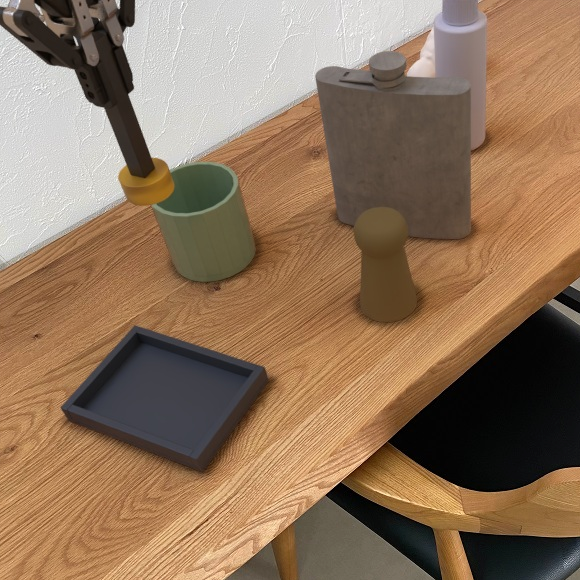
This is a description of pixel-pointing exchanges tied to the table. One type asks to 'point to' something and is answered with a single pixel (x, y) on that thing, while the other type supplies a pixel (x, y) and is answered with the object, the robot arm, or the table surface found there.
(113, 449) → the table surface
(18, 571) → the table surface
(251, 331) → the table surface
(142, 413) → the tray
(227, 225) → the beaker
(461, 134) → the hip flask
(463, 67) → the spray bottle
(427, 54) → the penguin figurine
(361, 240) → the peg doll figure
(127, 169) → the brush
